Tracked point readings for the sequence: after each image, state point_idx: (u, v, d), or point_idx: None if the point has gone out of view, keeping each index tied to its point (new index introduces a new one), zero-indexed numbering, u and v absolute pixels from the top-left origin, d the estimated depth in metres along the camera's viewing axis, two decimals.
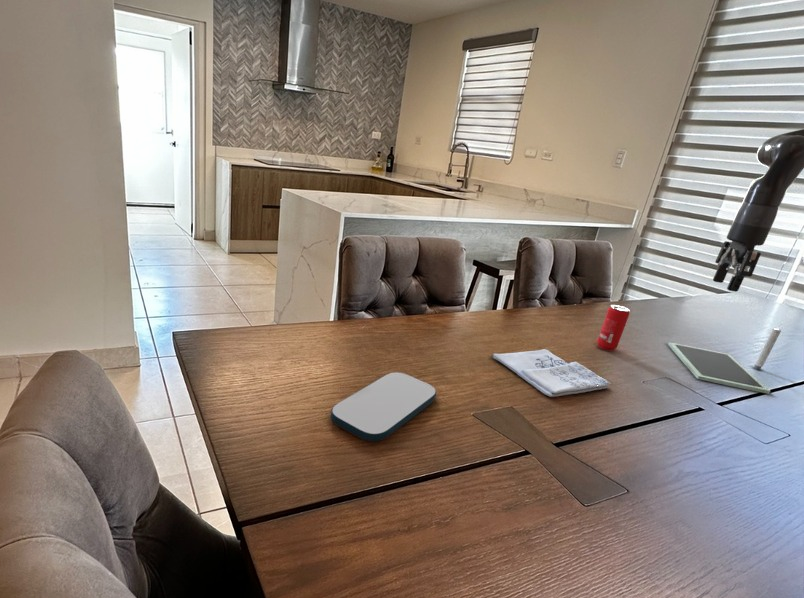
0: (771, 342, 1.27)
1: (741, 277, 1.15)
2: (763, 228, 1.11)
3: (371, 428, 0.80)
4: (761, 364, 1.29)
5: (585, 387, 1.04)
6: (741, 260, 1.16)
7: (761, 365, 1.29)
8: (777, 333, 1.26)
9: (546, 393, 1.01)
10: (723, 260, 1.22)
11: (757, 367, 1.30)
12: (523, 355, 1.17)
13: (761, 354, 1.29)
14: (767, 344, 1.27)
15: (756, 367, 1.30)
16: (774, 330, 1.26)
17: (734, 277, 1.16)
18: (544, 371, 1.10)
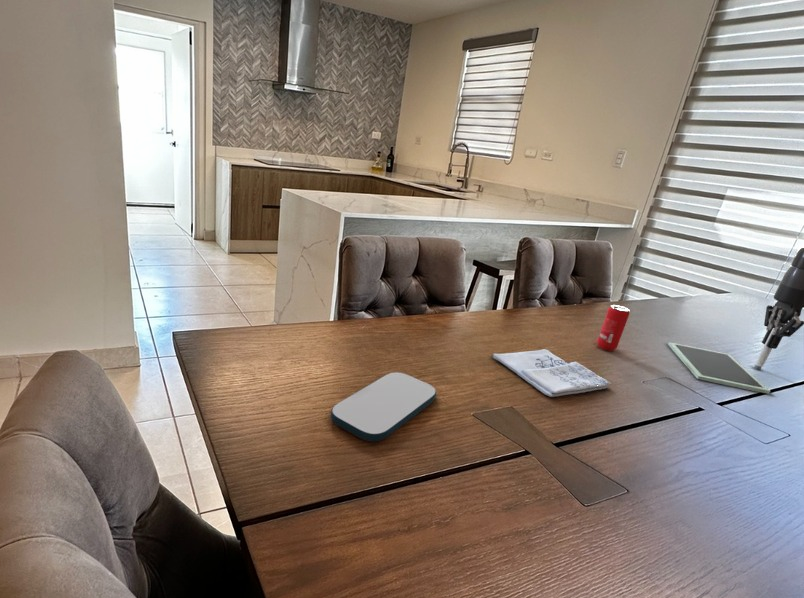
0: None
1: (780, 336, 1.24)
2: None
3: (371, 428, 0.80)
4: (761, 364, 1.29)
5: (585, 387, 1.04)
6: (788, 320, 1.22)
7: (761, 365, 1.29)
8: None
9: (546, 393, 1.01)
10: (772, 321, 1.27)
11: (757, 367, 1.30)
12: (523, 355, 1.17)
13: (761, 354, 1.29)
14: None
15: (756, 367, 1.30)
16: None
17: (773, 336, 1.25)
18: (544, 371, 1.10)
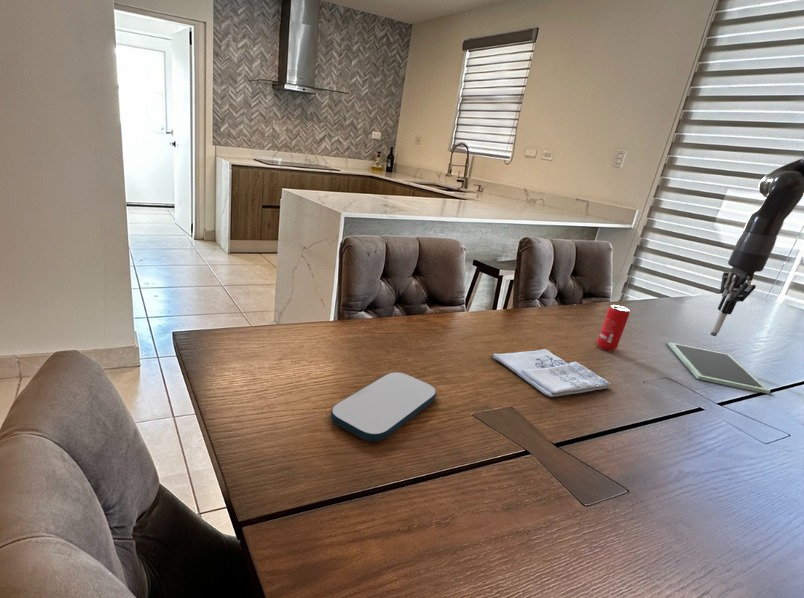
0: None
1: (734, 301, 1.25)
2: (762, 256, 1.19)
3: (371, 428, 0.80)
4: (716, 330, 1.30)
5: (585, 387, 1.04)
6: (741, 285, 1.23)
7: (717, 331, 1.30)
8: None
9: (546, 393, 1.01)
10: (727, 287, 1.27)
11: (713, 333, 1.31)
12: (523, 355, 1.17)
13: (717, 320, 1.30)
14: None
15: (712, 333, 1.31)
16: None
17: (728, 301, 1.26)
18: (544, 371, 1.10)
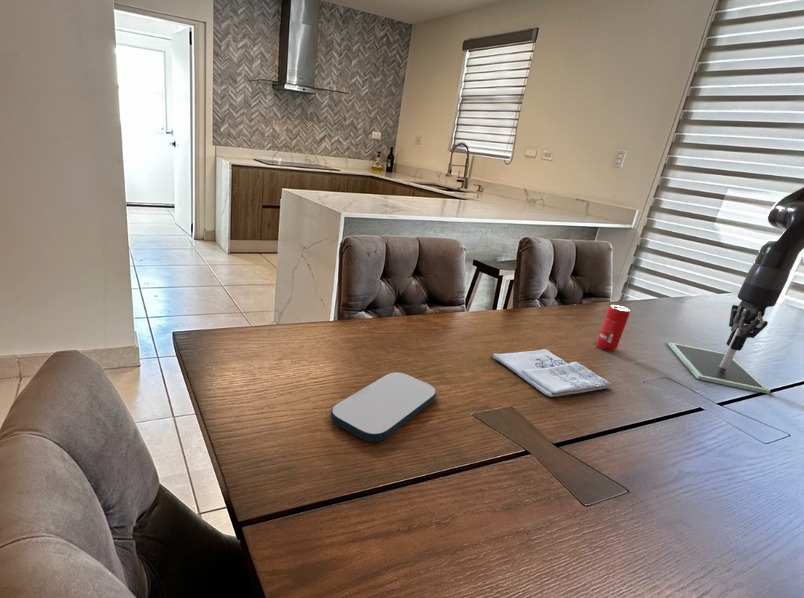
0: None
1: (744, 337, 1.17)
2: (775, 291, 1.11)
3: (371, 428, 0.80)
4: (726, 366, 1.22)
5: (585, 387, 1.04)
6: (752, 320, 1.15)
7: (726, 367, 1.22)
8: None
9: (546, 393, 1.01)
10: (736, 321, 1.20)
11: (722, 369, 1.23)
12: (523, 355, 1.17)
13: (726, 355, 1.22)
14: None
15: (721, 369, 1.23)
16: None
17: (737, 337, 1.19)
18: (544, 371, 1.10)
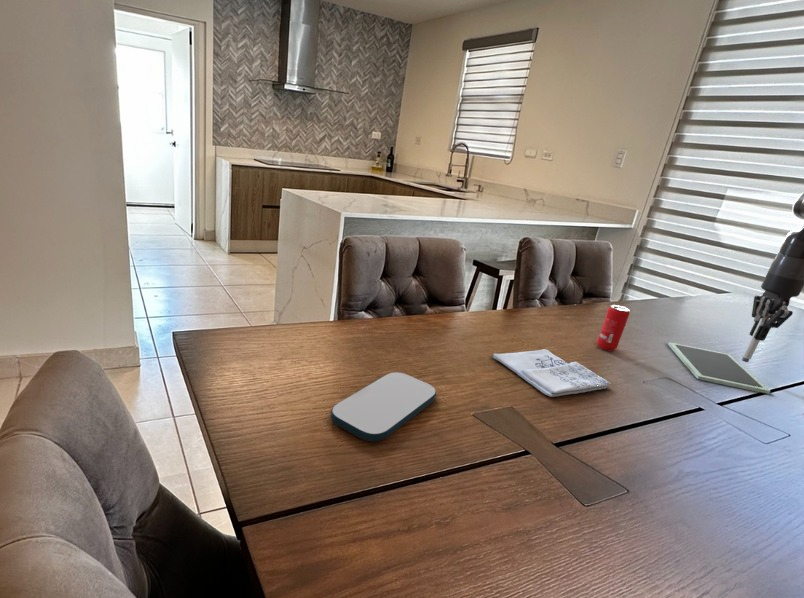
0: None
1: (768, 328, 1.19)
2: (800, 281, 1.13)
3: (371, 428, 0.80)
4: (749, 356, 1.24)
5: (585, 387, 1.04)
6: (776, 310, 1.17)
7: (749, 357, 1.24)
8: None
9: (546, 393, 1.01)
10: (760, 312, 1.21)
11: (745, 359, 1.24)
12: (523, 355, 1.17)
13: (749, 346, 1.23)
14: None
15: (744, 359, 1.25)
16: None
17: (761, 327, 1.20)
18: (544, 371, 1.10)
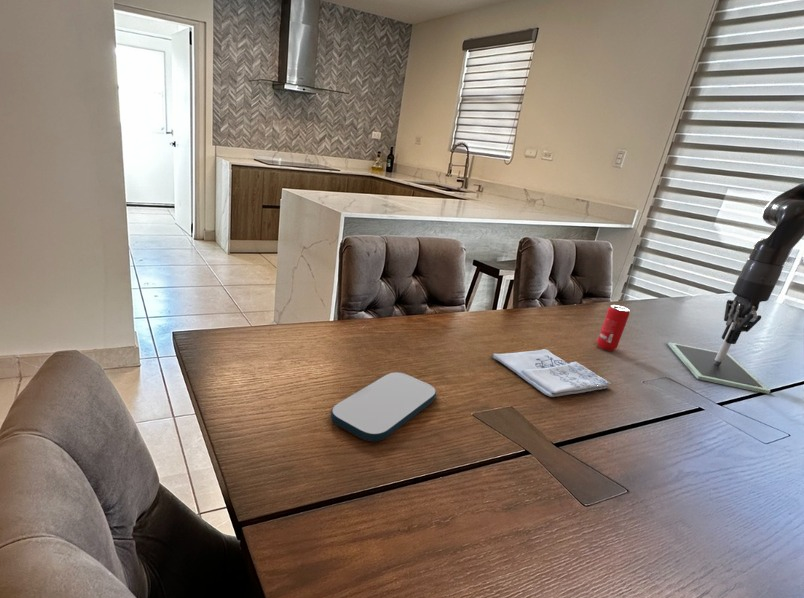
0: None
1: (738, 331, 1.21)
2: (768, 286, 1.15)
3: (371, 428, 0.80)
4: (721, 359, 1.26)
5: (585, 387, 1.04)
6: (746, 315, 1.19)
7: (721, 360, 1.26)
8: None
9: (546, 393, 1.01)
10: (731, 316, 1.23)
11: (717, 362, 1.27)
12: (523, 355, 1.17)
13: (721, 349, 1.26)
14: None
15: (716, 362, 1.27)
16: None
17: (732, 331, 1.22)
18: (544, 371, 1.10)
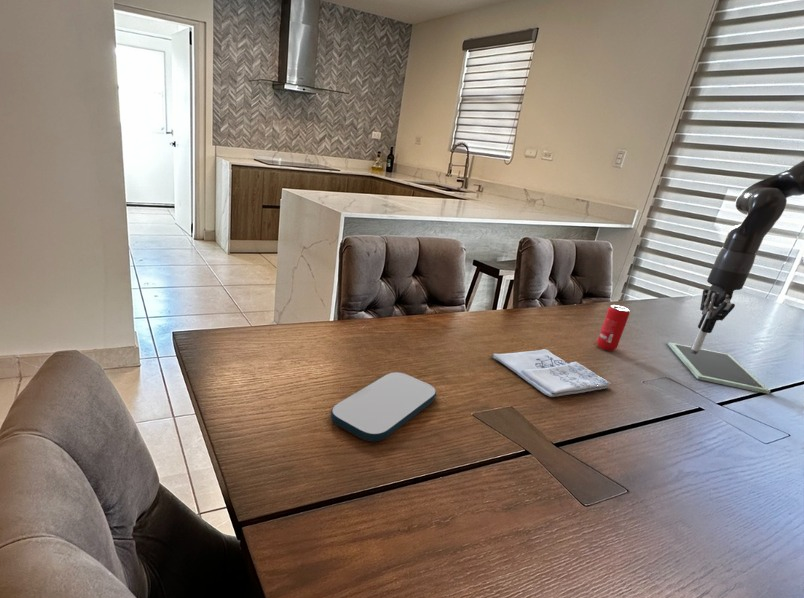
0: None
1: (714, 320, 1.22)
2: (741, 274, 1.16)
3: (371, 428, 0.80)
4: (697, 348, 1.27)
5: (585, 387, 1.04)
6: (721, 303, 1.20)
7: (697, 349, 1.27)
8: None
9: (546, 393, 1.01)
10: (707, 305, 1.24)
11: (694, 351, 1.28)
12: (523, 355, 1.17)
13: (697, 338, 1.26)
14: None
15: (693, 351, 1.28)
16: None
17: (707, 320, 1.23)
18: (544, 371, 1.10)
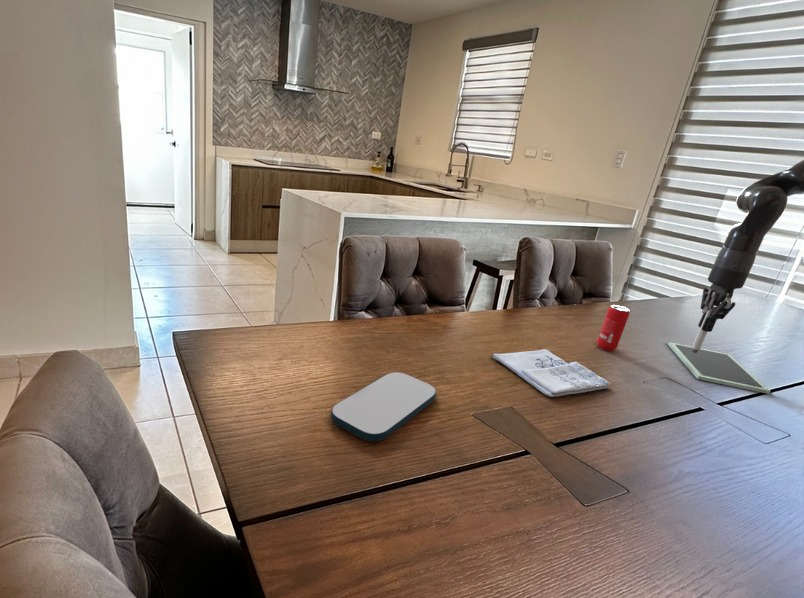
0: None
1: (714, 319, 1.22)
2: (742, 273, 1.16)
3: (371, 428, 0.80)
4: (697, 347, 1.27)
5: (585, 387, 1.04)
6: (721, 302, 1.20)
7: (698, 348, 1.27)
8: None
9: (546, 393, 1.01)
10: (707, 303, 1.24)
11: (694, 350, 1.27)
12: (523, 355, 1.17)
13: (697, 337, 1.26)
14: None
15: (693, 350, 1.28)
16: None
17: (708, 318, 1.23)
18: (544, 371, 1.10)
